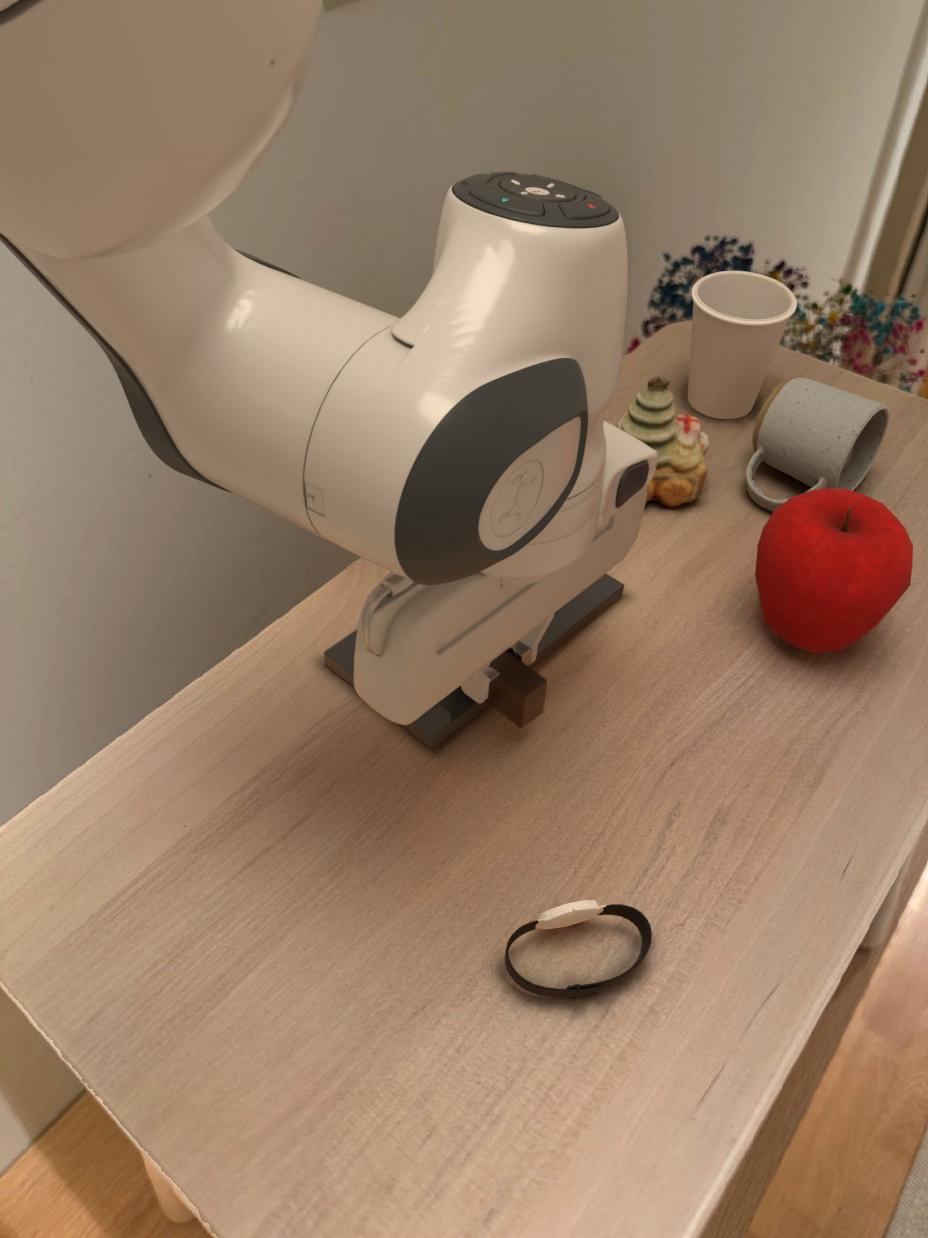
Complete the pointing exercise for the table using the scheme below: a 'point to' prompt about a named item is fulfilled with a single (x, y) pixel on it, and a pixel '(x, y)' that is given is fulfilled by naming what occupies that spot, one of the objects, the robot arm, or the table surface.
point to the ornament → (668, 444)
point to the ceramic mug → (816, 437)
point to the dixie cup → (734, 339)
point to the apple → (831, 568)
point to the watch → (574, 915)
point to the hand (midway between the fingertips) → (498, 676)
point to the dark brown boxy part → (517, 690)
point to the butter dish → (457, 703)
